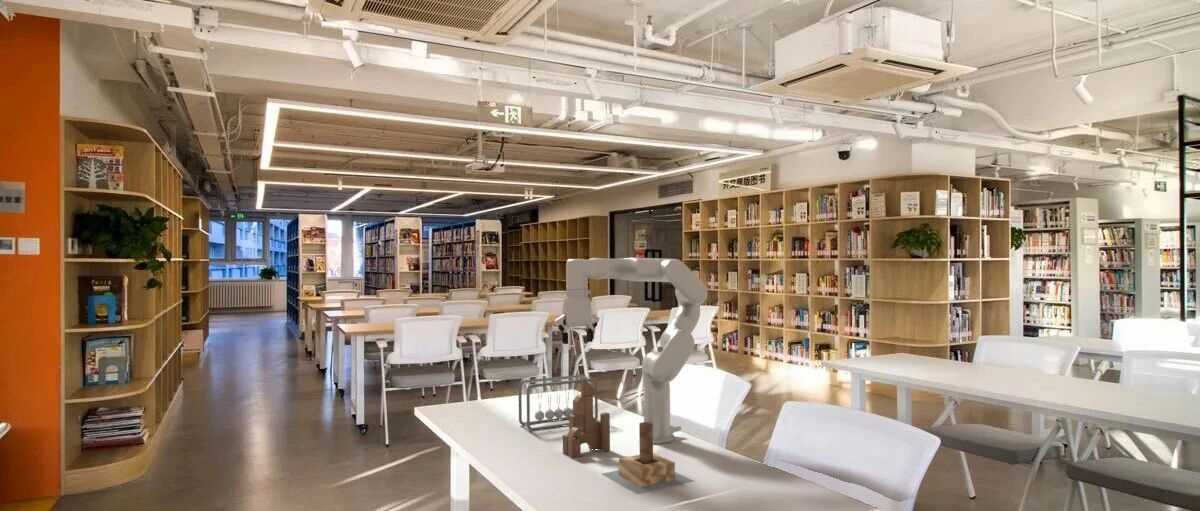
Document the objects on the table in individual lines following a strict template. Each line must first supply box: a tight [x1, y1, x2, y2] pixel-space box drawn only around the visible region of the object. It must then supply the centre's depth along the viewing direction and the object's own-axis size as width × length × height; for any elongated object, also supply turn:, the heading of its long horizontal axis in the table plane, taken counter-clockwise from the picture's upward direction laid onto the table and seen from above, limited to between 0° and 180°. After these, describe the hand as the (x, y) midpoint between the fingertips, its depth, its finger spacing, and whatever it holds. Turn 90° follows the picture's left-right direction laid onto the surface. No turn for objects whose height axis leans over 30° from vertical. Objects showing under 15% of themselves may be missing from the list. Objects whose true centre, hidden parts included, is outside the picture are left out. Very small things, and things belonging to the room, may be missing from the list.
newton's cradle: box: [518, 374, 599, 431], centre depth 265 cm, size 30×10×18 cm, turn 116°
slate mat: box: [601, 469, 694, 495], centre depth 199 cm, size 20×20×1 cm
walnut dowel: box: [638, 421, 654, 465], centre depth 199 cm, size 4×4×16 cm
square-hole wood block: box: [618, 452, 676, 487], centre depth 199 cm, size 12×12×5 cm
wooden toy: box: [562, 377, 611, 458], centre depth 226 cm, size 16×7×25 cm, turn 120°
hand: (577, 342), depth 234 cm, fingers open, 9 cm apart
